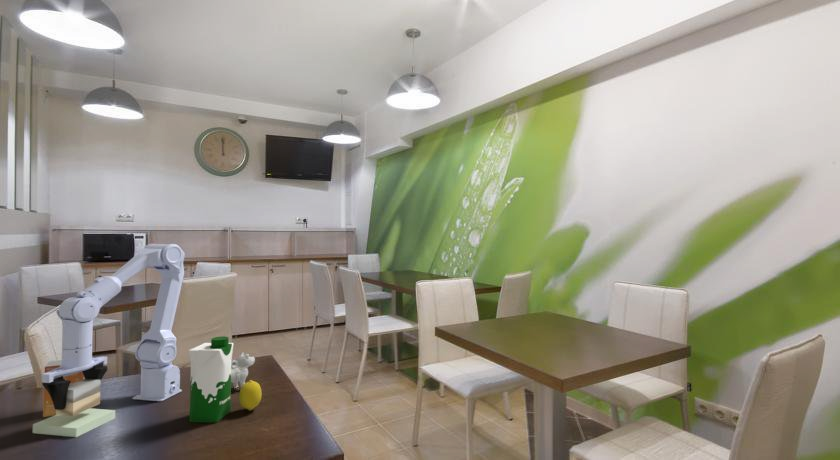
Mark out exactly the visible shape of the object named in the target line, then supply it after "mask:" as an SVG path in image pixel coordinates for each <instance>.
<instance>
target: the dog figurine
mask: <svg viewBox="0 0 840 460" xmlns="http://www.w3.org/2000/svg"><path fill="white" fill-rule="evenodd" d="M255 362H256V358H255V356H250V354H249V353H246V354H245V353H244V352H241V353H240V354H239V356H237V358H236V359H235V360H234V359H233V360H232V359H231V384H233V389H235V388H236V389H238V388H237V387H239V386H240V389H241V388H242V386H243V385H244V384H245V383H246V379H247V377H248V375H249V369H248V368H249V367H251V366H253V365H254V363H255Z"/></svg>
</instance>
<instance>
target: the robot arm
mask: <svg viewBox="0 0 840 460" xmlns="http://www.w3.org/2000/svg"><path fill="white" fill-rule="evenodd" d="M185 255H186V253H185V252H184V250H183V249H182V247H180V246H179V245H178V244H176V243H170V244H166V243H164V244H162V243H160V244H159V243H149V244H146V245H145V246H144V247H143V248H140V249H139V250H138V251H137V253H136V254H135V255H134V256H133V257H132V258H131V259H129V260H128V261H127V262H126V263H125V264H123V266H121V267H120V268H119V269H118V270H116V271H115V272H114V273H112V275H110V276H109V275H102V276H100V277H99V276H98V277H96V278H95V279H93V283H91V284H90V285H89V286H88V287H86V288H85V289H83V290H80V291H78V292H76V296H72V297H68V298H67V299H64V300H63V302H61V303H60V306H59V308H58V309H57V310H56V315H57V317H58V318H59V319H60V320H61V326H62V327H61V328H62V331H61V332H62V334H61V335H62V336H61V343H62V344H61V360H62V364H61V365H60V367H58V368H56V369H54V370H52V371H49V372H47V373H45V372H44V373H42V374H41V384H42V387H43V388H44V387H45V389H46V390H47V391H48V393H49V394H50V396H51V399H52V401H53V404H54V408H55V409H56V410H63V409H65V406H66V396H67V391H68V387H69V385H70V382H71V381H70V380H65V379H63V377H66V376H69V375H72V374H75V373H78V372H81V371H82V372H83V375H84V379H96V380H101V381H102V379H103V378H104V376H105V375H106V372H107V371H108V366H107V365H108V356H98V357H93V332H94V331H93V330H94V329H93V327H94V319H96V318H97V317H98V315H99V313H100V310H101V308H102V307H103V306H104V305H106V304H107V303H109V302H110V301H111V300H112V299H113V298H114V297H116V296H117V295H118V294H119V293H121V292H122V286H123V284H126V283H127V282H128V281H129V280H131V279H132V278H133V277H135V276H136V275H138V274H139V273H140V272H142V271H144V270H145V269H147V268H153V269H154V270H155V271H157V272H158V273H159V275H160V276H161V281H160V284H159V285H160V286H159V290H158V295H157V298H156V302H155V307H154V311H153V314H152V319H151V324H150V328H149V330H148V331H147V332H146V333H144V334H142V336H141V339H140V342H139V344H138V345H137V346H136V348H135V352H134V356H135V358H136V360H137V361H138V362H139V365H140V394H137V395H135V396H133V397H132V400H136V401H137V400H139V401H151V402H152V401H153V402H155V401H156V402H163V401H165V400H167V399H169V398H171V397H173V396H174V395H175V396H176V395H177V394H179V393H181V392H183V390H182V389H180V387H181V370H180V368H179V366H177V365H173V361H174V360H175V359H176V356H177V353H178V352H177V351H178V349H177V337H176V336H175V335H174V333H173V332H172V330H173V325H174V322H175V317H176V312H177V309H178V303H179V299H180V296H181V290H182V285H183V281H184V275H185V268H184V267H185V266H184V261H185Z"/></svg>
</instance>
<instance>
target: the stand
mask: <svg viewBox="0 0 840 460" xmlns="http://www.w3.org/2000/svg"><path fill="white" fill-rule="evenodd" d="M115 419H116V410H115V409H101V408H94V407H92V408H89V409H87V410H85V411H83V412H80V413H78V414H76V415H74V416H68V415H53V416H49V417H46V418H45V419H43V420H40V421H38V422H35V423H33V424H32V434H38V435H50V436H60V437H61V436H62V437H72V438H78V437H79V436H82V435H84V434H86V433H88V432H90V431H92V430H94V429H96V428H98V427H101V426H102V425H104V424H107V423H109V422H110V421H112V420H115Z"/></svg>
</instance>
